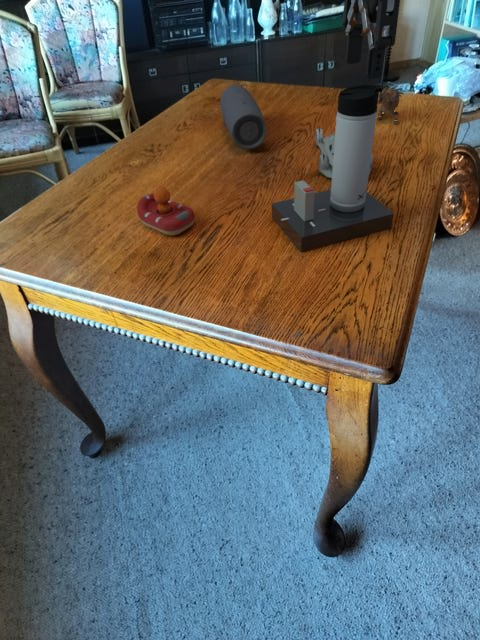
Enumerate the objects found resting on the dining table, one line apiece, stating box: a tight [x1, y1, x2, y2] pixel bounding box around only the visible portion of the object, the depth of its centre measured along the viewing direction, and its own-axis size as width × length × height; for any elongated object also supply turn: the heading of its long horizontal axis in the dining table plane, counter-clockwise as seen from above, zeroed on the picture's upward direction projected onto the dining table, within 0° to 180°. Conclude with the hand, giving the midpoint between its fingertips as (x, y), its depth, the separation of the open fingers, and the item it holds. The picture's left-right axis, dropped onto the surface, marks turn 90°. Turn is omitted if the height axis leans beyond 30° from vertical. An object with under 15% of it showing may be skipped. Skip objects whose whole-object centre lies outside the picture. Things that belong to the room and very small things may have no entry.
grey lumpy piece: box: [314, 128, 374, 180], centre depth 105 cm, size 11×24×5 cm, turn 178°
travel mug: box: [330, 84, 383, 212], centre depth 79 cm, size 6×7×20 cm
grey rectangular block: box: [293, 179, 316, 222], centre depth 82 cm, size 4×2×6 cm, turn 19°
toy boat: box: [136, 186, 196, 237], centre depth 88 cm, size 8×12×8 cm, turn 51°
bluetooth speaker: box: [219, 84, 268, 150], centre depth 117 cm, size 23×9×10 cm, turn 9°
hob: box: [271, 188, 395, 253], centre depth 86 cm, size 19×13×3 cm
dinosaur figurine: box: [376, 84, 405, 125], centre depth 120 cm, size 14×6×9 cm, turn 163°
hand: (362, 70), depth 71 cm, fingers open, 8 cm apart
